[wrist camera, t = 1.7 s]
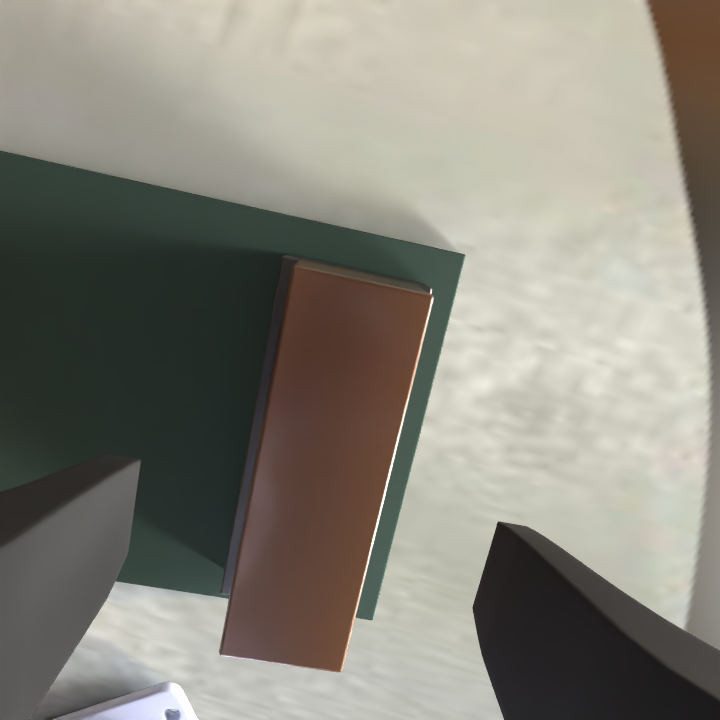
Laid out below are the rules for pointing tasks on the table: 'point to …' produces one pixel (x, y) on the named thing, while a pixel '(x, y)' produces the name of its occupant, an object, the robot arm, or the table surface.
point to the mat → (168, 349)
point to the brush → (319, 459)
